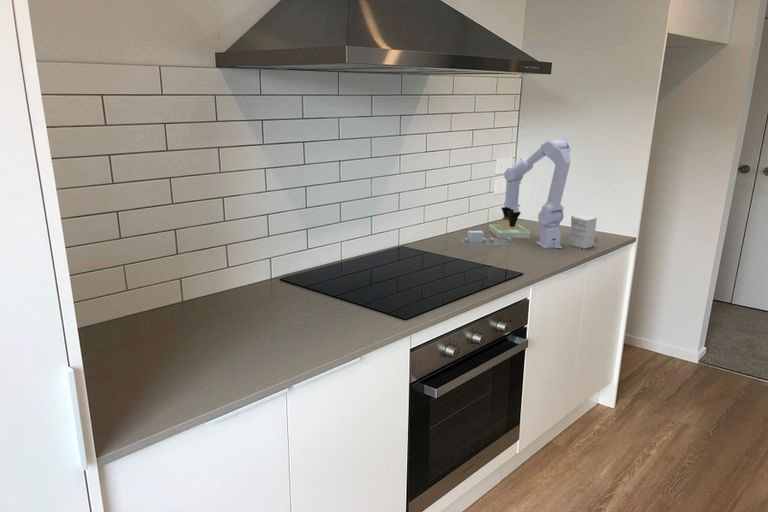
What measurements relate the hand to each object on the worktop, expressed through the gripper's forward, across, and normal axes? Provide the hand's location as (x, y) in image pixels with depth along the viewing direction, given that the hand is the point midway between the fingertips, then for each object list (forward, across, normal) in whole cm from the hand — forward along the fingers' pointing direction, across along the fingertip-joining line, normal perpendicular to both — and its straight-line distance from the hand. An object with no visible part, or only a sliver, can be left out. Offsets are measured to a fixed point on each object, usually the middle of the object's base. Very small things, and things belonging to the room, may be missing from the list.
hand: (509, 224), depth 277 cm
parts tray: (+5, 0, 0) cm, 5 cm away
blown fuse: (+1, 0, 0) cm, 1 cm away
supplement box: (+5, -21, -25) cm, 33 cm away
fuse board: (+5, -14, +14) cm, 20 cm away
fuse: (+4, -14, +20) cm, 24 cm away
